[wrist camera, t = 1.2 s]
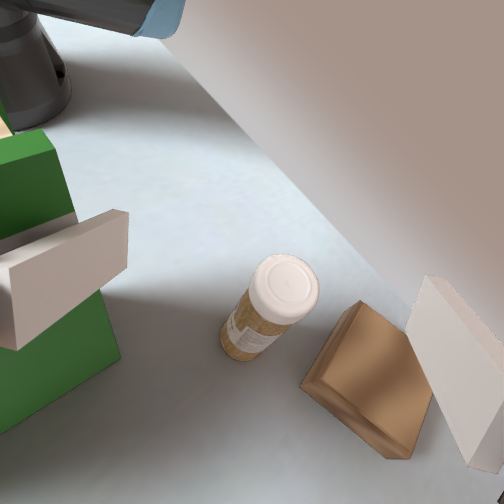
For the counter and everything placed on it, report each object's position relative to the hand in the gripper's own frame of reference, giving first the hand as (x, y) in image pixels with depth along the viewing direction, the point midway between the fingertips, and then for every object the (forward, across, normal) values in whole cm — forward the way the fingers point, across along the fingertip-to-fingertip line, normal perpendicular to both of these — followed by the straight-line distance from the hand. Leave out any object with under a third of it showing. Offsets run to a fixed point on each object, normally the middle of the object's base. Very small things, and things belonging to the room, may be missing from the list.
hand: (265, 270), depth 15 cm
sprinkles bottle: (+14, -2, -14) cm, 20 cm away
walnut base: (+16, +11, -16) cm, 25 cm away
